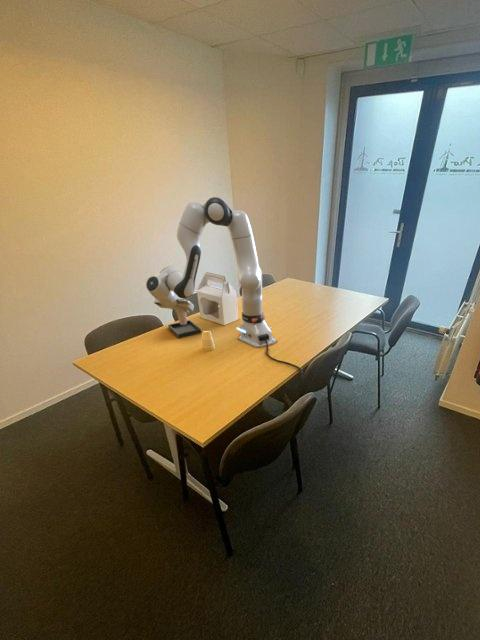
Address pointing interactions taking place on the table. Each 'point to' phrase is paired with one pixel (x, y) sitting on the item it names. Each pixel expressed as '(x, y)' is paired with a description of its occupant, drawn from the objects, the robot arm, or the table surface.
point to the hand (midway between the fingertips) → (181, 310)
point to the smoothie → (182, 316)
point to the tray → (184, 329)
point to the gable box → (217, 300)
